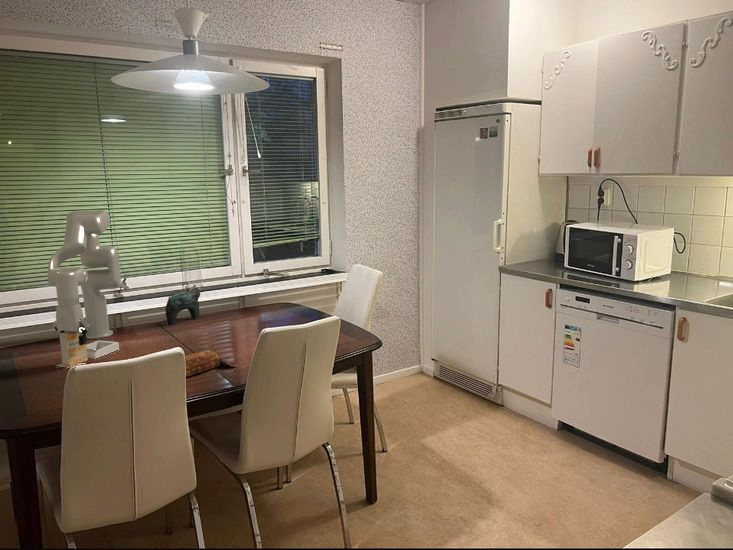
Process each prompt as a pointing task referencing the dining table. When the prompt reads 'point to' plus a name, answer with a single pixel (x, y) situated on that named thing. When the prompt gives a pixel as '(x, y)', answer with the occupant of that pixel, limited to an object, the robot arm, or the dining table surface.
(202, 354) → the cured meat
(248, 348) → the dining table surface
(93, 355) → the white shallow tray
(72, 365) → the mat
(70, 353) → the supplement box
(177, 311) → the green horse figurine
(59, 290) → the robot arm
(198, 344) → the dining table surface
